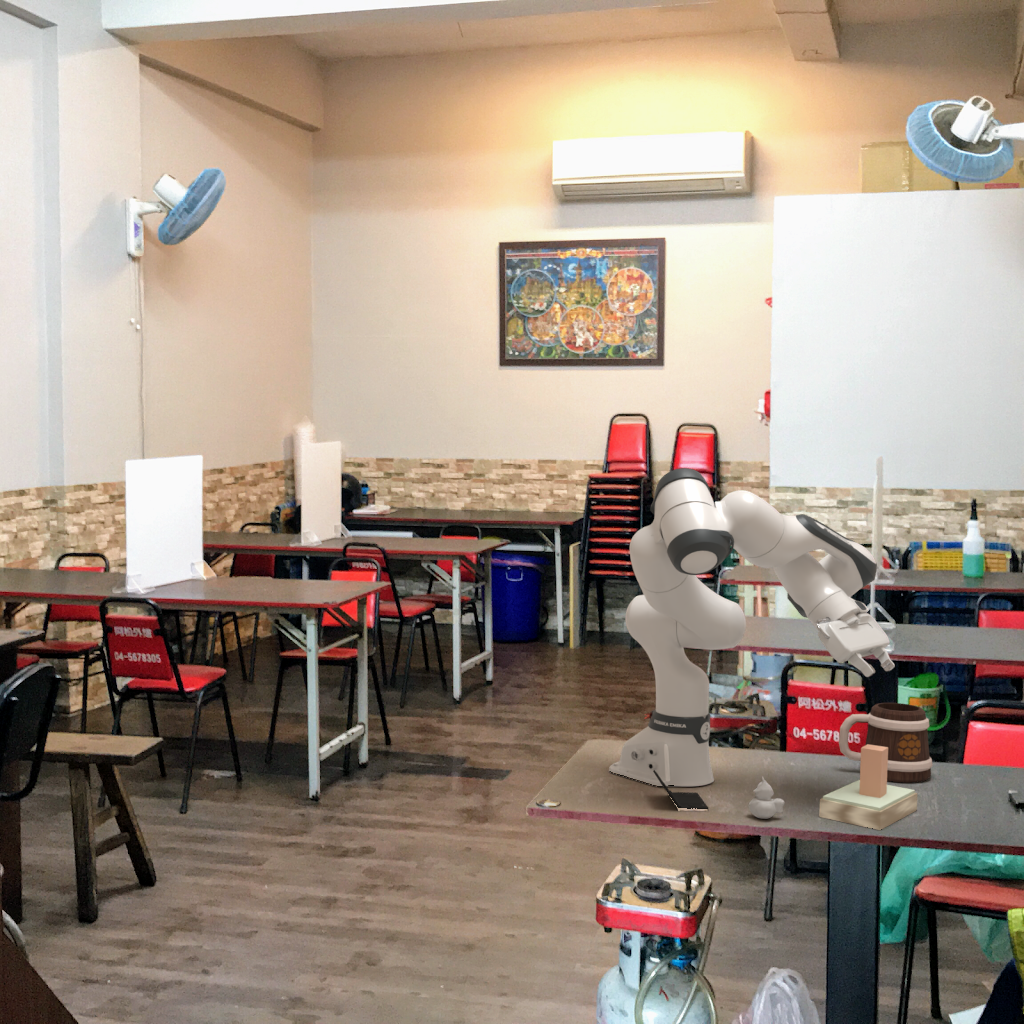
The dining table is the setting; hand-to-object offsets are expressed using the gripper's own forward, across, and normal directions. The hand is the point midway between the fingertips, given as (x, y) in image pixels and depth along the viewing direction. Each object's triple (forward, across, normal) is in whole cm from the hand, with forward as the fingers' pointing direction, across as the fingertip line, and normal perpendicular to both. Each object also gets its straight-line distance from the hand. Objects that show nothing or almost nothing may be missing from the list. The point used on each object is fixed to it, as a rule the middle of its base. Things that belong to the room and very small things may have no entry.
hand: (881, 671), depth 231 cm
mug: (+12, +30, +27) cm, 42 cm away
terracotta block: (+17, -2, +16) cm, 24 cm away
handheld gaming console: (-2, -22, +42) cm, 47 cm away
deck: (+19, -2, +20) cm, 27 cm away
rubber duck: (+10, -19, +29) cm, 36 cm away
